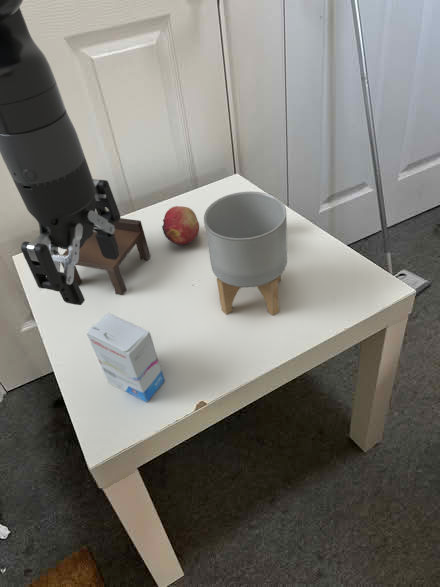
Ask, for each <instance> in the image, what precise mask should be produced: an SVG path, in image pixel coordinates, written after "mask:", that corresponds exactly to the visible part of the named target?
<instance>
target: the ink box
mask: <svg viewBox="0 0 440 587" xmlns="http://www.w3.org/2000/svg"><path fill="white" fill-rule="evenodd" d="M86 336H87V338H88V340H89V342H90V345H91V347H92V349H93V351H94V353H95V354H94V355H95V356H96V358H97V361H98V363H99V365H100V367H101V370H102V372H103V374H104V376H105V378H106V381H107V383H109V384H110V385H112V386H115V388H118V389H120V390H122V391H124V392H126V393H128V394H130V395H131V396H134V397H135V398H137V399H139V400H141V401H142V402H145V403H148V402H149V401H150V400H151V399H152V397H153V396H154V395H155V393H156V392H157V391H158V390H159V389H160V387H161V386H162V385H163V384H164V381H165V377H164V374H163V371H162V367H161V365H160V361H159V358H158V354H157V352H156V348H155V344H154V342H153V339H152V335H151V332H150V330H147V329H145V328H143V327H141V326H138V325H136V324H134V323H131V322H129V321H128V320H125V319H123V318H121V317H119V316H116V315H114V314H112V313H110V312H107V313H106V314H104V316H102V317H101V319H99V320H98V321H97V322H96V323H95V324H94V325H93V326H92V327H90V328H89V329H88V330H87V332H86Z"/></svg>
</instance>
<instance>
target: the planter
mask: <svg viewBox="0 0 440 587" xmlns="http://www.w3.org/2000/svg"><path fill="white" fill-rule="evenodd" d="M203 224H204V232H205V236H206V243H207V248H208V254H209V260H210V267H211V271H212V273H213V274H214V276H215V277H216V283H217V290H218V296H219V304H220V308H221V309H220V310H221V312H222V313H224V314H225V315H228V314H230V313H232V312H233V304H234V300H235V298H236V296H237V294H238V292H239V291H240V289H241V288H256V287H257V289H258V290H259V292H260V293H261V295H262V297H263V299H264V301H265V304H266V307H267V313H269V314H270V315H271V316H274V315H276V314H277V313H279V312H280V302H279V301H280V298H279V282H280V281H281V280H282V274H283V273H284V271H285V270H286V267H287V264H288V238H287V237H288V233H287V232H288V230H287V228H288V227H287V208H286V205H285V204H284V203H283V202H282V200H280V198H278V197H276V196H274V195H272V194H269V193H266V192H261V191H239V192H233V193H230V194H227V195H224V196H222V197H220V198H218V199H216V200H215V201H213V202H212V203H211V204H210V205H209V206H208V207H207V208H206V210H205V211H204V214H203Z"/></svg>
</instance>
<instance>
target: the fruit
mask: <svg viewBox="0 0 440 587" xmlns="http://www.w3.org/2000/svg"><path fill="white" fill-rule="evenodd" d="M163 217H164V218H163V219H162V222H163V224H162V226H161V228H162V232H163V235H164V236H165V238H166V239H167V241H169V242H170V243H172V244H174V245H175V244H176V245H179V246H182V245H187V244H189V243H192V242H193V241H194V240H195V239H196V238H197V236H198V235H199V233H200V223H199V220H198V217H197V215H196V213H195V212H194V211H193V209H192V208H190V207H187V206H180V205H179V206H178V205H175V206H172V207H170V208H169V209H168V210H167V211H166V212H165V214H164V216H163Z"/></svg>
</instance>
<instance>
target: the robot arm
mask: <svg viewBox="0 0 440 587" xmlns="http://www.w3.org/2000/svg"><path fill="white" fill-rule="evenodd" d="M23 2H24V0H0V155H1V158H2V160H3V162H4V164H5V166H6V169H7V170H8V172H9V175H10V176H11V179H12V181H13V183H14V184H15V187H16V189H17V191H18V193H19V195H20V197H21V200H22V201H23V204H24V206H25V208H26V210H27V212H29V214H30V215H31V216H32V217H33V218H34V219H35V220H36V221H37V223H38V227H39V235H38V236H37V237H36V238H35V239H34V240H32V241H23V242H22V243H21V246H20V250H21V253H22V255H23V257H24V259H25V261H26V264H27V266H28V268H29V270H30V272H31V275H32V277H33V279H34V281H35V284H36V286H37V288H39V289H44V290H50V291H53V292H58V293H59V294H60V296H61V298H62V300H63V301H64V302H65V304H71V305H76V306H82V305H83V304H84V303H85V300H86V299H85V297H84V294H83V292H82V290H81V288H80V284H79V285H78V283H77V281H76V279H74V266H76V265H75V264H76V263H78V261H79V249H80V248H81V247H82V246H83V244H84V243H85V241H86V240H87V239H88V238H90V237H91V236H92V235H93V231H94V232H98V233H97V234H96V235H95V237H96V239H97V242H98V245H99V247H100V250H101V253H102V255H103V257H105V258H107V259H113V260H116V259H117V258H118V257H119V252H118V245H117V242H116V239H115V236H114V231H115V227H114V223H115V222H118V221H119V220H120V218H121V213H120V210H119V208H118V205H117V203H116V199H115V197H114V195H113V194H114V193H113V191H112V189H111V185H110V184H109V181H108V180H106V179H97V178H93V176H92V174H91V170H90V167H89V165H88V162H87V159H86V156H85V153H84V150H83V147H82V144H81V140H80V138H79V135H78V133H77V130H76V128H75V126H74V124H73V122H72V120H71V118H70V116H69V114H68V112H67V109H66V105H65V103H64V100H63V97H62V95H61V92H60V89H59V86H58V83H57V80H56V77H55V75H54V73H53V72H54V71H53V69H52V67H51V65H50V63H49V61H48V59H47V57H46V55H45V54H44V53H43V51H42V50H41V49H40V48H39V46H38V45H37V44H36V42H35V41H34V39H33V38H32V36H31V34H30V31H29V29H28V25H27V23H26V20H25V18H24V17H25V16H24V15H23V11H22V10H21V8H20V7H21V5H22V4H23ZM106 208H107V209H106ZM59 248H60V249H62V250H65V251H66V250H69V252H68V255H63V254H61V253H60V252H59ZM61 263H63V264H64V268H63V272H62V271H61Z"/></svg>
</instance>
